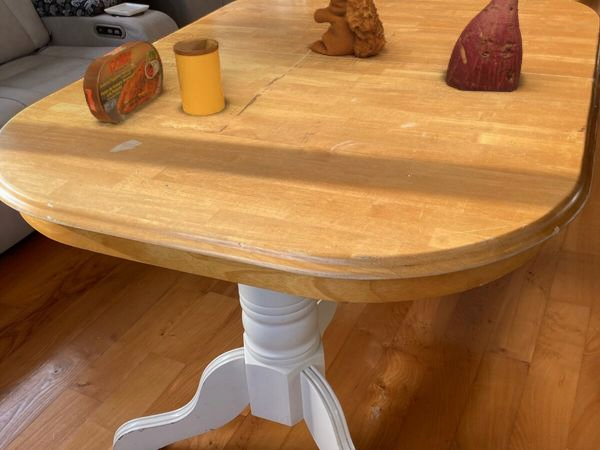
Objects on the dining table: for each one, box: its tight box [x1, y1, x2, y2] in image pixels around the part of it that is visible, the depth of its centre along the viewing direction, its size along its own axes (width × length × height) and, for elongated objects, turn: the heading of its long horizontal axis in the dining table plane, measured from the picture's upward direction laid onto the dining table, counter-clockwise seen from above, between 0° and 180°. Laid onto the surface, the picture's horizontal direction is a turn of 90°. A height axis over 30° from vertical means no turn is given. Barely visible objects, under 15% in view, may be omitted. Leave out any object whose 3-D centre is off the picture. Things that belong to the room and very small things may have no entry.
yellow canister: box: [172, 37, 226, 116], centre depth 77 cm, size 6×6×9 cm
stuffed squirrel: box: [310, 0, 388, 58], centre depth 95 cm, size 10×14×13 cm
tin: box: [82, 40, 164, 124], centre depth 78 cm, size 15×3×8 cm, turn 161°
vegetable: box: [445, 0, 524, 93], centre depth 82 cm, size 10×10×15 cm
